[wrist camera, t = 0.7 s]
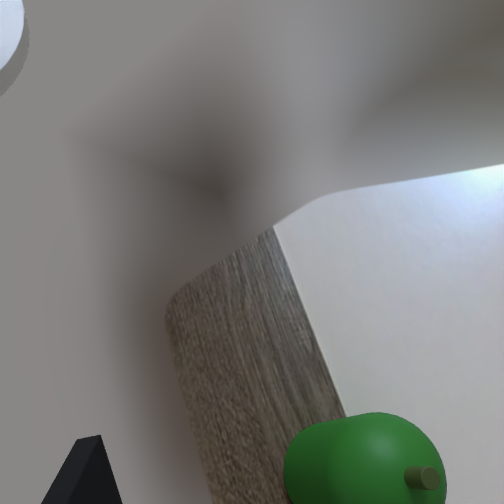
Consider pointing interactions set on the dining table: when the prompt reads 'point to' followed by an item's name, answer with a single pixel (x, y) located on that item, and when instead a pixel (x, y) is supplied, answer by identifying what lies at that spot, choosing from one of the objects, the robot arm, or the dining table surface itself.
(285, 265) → the dining table surface
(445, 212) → the dining table surface
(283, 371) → the dining table surface
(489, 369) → the dining table surface
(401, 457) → the green pepper
